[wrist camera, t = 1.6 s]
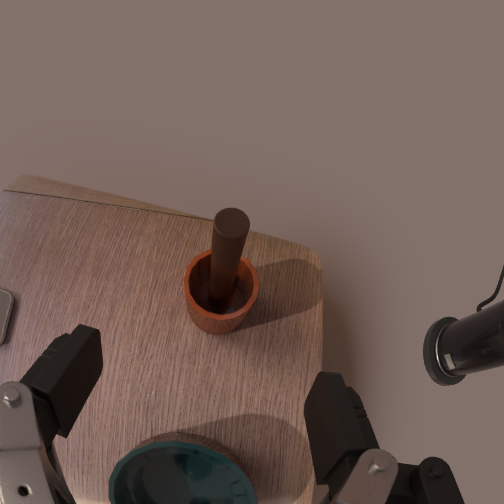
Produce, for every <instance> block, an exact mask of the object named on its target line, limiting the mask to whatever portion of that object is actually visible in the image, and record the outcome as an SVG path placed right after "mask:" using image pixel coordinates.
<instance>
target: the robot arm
mask: <svg viewBox="0 0 504 504" xmlns="http://www.w3.org/2000/svg"><path fill="white" fill-rule="evenodd" d="M503 277H504V266H503V270H502V273H501V276H500V279H499V282H498V285H497V288H496V290H495V292H494V294H493V295H492V296H491V297H490V298H489V299H487V300H485V301H483V302H482V303H480V304H479V305H478V306H477V313H474V314H472V315H470V316H468V317H465V318H463V319H460V320H458V321H456V322H453V323H449V324H447V325H445V326H443V327H442V328H441V329H440V330H439V332H438V334H437V336H436V339H435V345H434V355H435V360H436V363H437V366H438V368H439V370H440V371H441V372H442V373H443V374H444V375H445V376H447V377H451V378H452V377H458V376H460V375H465V374H470V373H475V372H479V371H483V370H487V369H492V368H495V367H499V366H503V365H504V300H503V301H500V302H498V303H496V304H494V305H492V306H490V307H488V308H485V309H483V310H482V309H481V308H482V307H483V306H485V305H486V304H488V303H490V302H491V301H493V300H494V299H495V297H496V296H497V294H498V292H499V290H500V287H501V284H502V280H503ZM102 368H103V356H102V347H101V336H100V331H99V330H98V329H95V328H92V327H89V326H85V325H82V324H79V325H78V326H77V327H76V328H75V329H74V331H73V332H72V333H71V334H67V333H65V334H63V335H61V336H59V337H57V338H56V339H54V340H53V342H52V343H51V344H50V345H49V346H48V347H47V349H46V350H45V351H44V352H43V353H42V356H40V357H39V358H38V359H37V360H36V362H35V363H34V364H33V365H32V367H31V368H30V369H29V370H28V371H27V373H26V374H25V375H24V376H23V378H22V379H21V380H20V381H19V382H15V381H11V382H6V383H4V384H2V385H1V386H0V502H1V504H76V502H75V500H74V498H73V496H72V494H71V493H70V491H69V489H68V486H67V484H66V481H65V478H64V475H63V472H62V469H61V466H60V463H59V460H58V457H57V453H56V450H55V446H54V443H53V439H54V437H55V436H56V434H57V435H60V436H62V437H64V438H66V439H67V437H68V435H69V433H70V431H71V429H72V427H73V425H74V423H75V421H76V419H77V417H78V415H79V413H80V412H81V410H82V408H83V406H84V404H85V402H86V400H87V399H88V397H89V395H90V393H91V391H92V390H93V388H94V386H95V384H96V382H97V381H98V379H99V377H100V375H101V372H102ZM304 417H305V422H306V427H307V433H308V438H309V444H310V449H311V454H312V460H313V466H314V471H315V477H316V482H317V485H324V484H328V487H329V491H328V492H327V493H326V495H325V496H324V498H323V499H322V501H321V502H320V503H319V504H465V503H464V501H463V498H462V496H461V493H460V491H459V488H458V486H457V483H456V481H455V478H454V476H453V473H452V471H451V469H450V467H449V465H448V464H447V463H446V462H445V461H444V460H442V459H440V458H437V457H428V458H426V459H424V460H423V461H422V462H421V463H420V464H419V465H410V464H402V463H397V461H396V459H395V458H394V457H393V455H392V454H390V453H389V452H387V451H385V450H382V449H380V448H379V445H378V442H377V440H376V437H375V434H374V432H373V429H372V427H371V424H370V421H369V419H368V418H367V414H366V411H365V409H364V406H363V404H362V401H361V399H360V396H359V395H358V394H357V393H356V392H355V391H354V390H353V389H352V387H346V386H345V383H344V380H343V378H342V375H341V374H340V373H332V372H319V373H318V375H317V377H316V379H315V381H314V383H313V385H312V388H311V390H310V392H309V394H308V396H307V398H306V401H305V405H304Z"/></svg>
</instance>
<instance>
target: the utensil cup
mask: <svg viewBox="0 0 504 504" xmlns="http://www.w3.org/2000/svg"><path fill="white" fill-rule="evenodd" d="M211 250H212V249H210V250H207V251H205V252H203V253H201V254H199V255H197V256H196V257H195V258H194V259H193V260H192V261H191V263H190V264H189V265H188V266H187V268H186V272H185V275H184V278H183V286H184V293H185V298H186V303H187V308H188V313H189V315H190V317H191V319H192V321H193V322H194V324H195V325H196V326H197V327H198V328H200V329H201V330H203V331H205V332H207V333H210V334H215V335H221V334H227V333H229V332H232V331H234V330H235V329H237V328H238V327H239V326H240V325H241V324H242V322H243V321H244V319H245V318H246V316H247V315H248V313H249V311H250V309H251V308H252V306H253V304H254V302H255V301H256V299H257V296H258V290H259V279H258V275H257V271H256V269H255V268H254V266H253V265H252V264H251V262H250V261H249V260H248V259H247V258H246V257H244V256H243V255H242V256H241V259H240V263H239V266H238V270H237V273H236V277H235V280H234V284H233V287H232V291H231V294H230V298H229V302H228V305H227V308H226V310H225V311H224V312H222V313H214V312H213V311H211V310H210V308H209V306H208V300H209V282H210V265H211Z"/></svg>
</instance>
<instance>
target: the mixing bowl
mask: <svg viewBox="0 0 504 504" xmlns="http://www.w3.org/2000/svg"><path fill="white" fill-rule="evenodd" d="M109 500H110V503H111V504H258V501H257V498H256V494H255V490H254V487H253V484H252V482H251V480H250V479H249V477H248V475H247V473H246V471H245V469H244V468H243V467H242V465H241V464H240V462H239V461H238V459H237V458H236V456H235V455H233V454H232V453H231V452H229V451H228V450H227V449H226V448H224V447H223V446H222V445H221V444H219V443H217V442H214V441H212V440H210V439H208V438H205V437H203V436H200V435H194V434H188V433H182V432H176V433H166V434H159V435H156V436H154V437H151V438H149V439H147V440H144V441H142V442H141V443H140V444H139V445H137V446H136V447H135V448H134V449H132V450H131V451H130V452H129V453H128V454H127V455H126V456H124V457H123V458H122V459H121V460H120V461H119V462H117V464H116V466H115V468H114V470H113V472H112V474H111V476H110V478H109Z"/></svg>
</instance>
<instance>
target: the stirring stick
mask: <svg viewBox="0 0 504 504" xmlns="http://www.w3.org/2000/svg"><path fill="white" fill-rule="evenodd" d="M249 227H250V222H249V218H248V217H247V215H246V214H245V213H244V212H243V211H241V210H239V209H236V208H226V209H223V210H221V211H220V212H219V213H217V214H216V216H215V218H214V223H213V236H212V250H211V265H210V282H209V300H208V306H209V308H210V310H211V311H213V312H214V313H222V312H224V311H225V310H226V308H227V305H228V302H229V298H230V294H231V291H232V287H233V284H234V280H235V277H236V273H237V270H238V266H239V263H240V259H241V256H242V252H243V248H244V245H245V241H246V238H247V234H248V231H249Z"/></svg>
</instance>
